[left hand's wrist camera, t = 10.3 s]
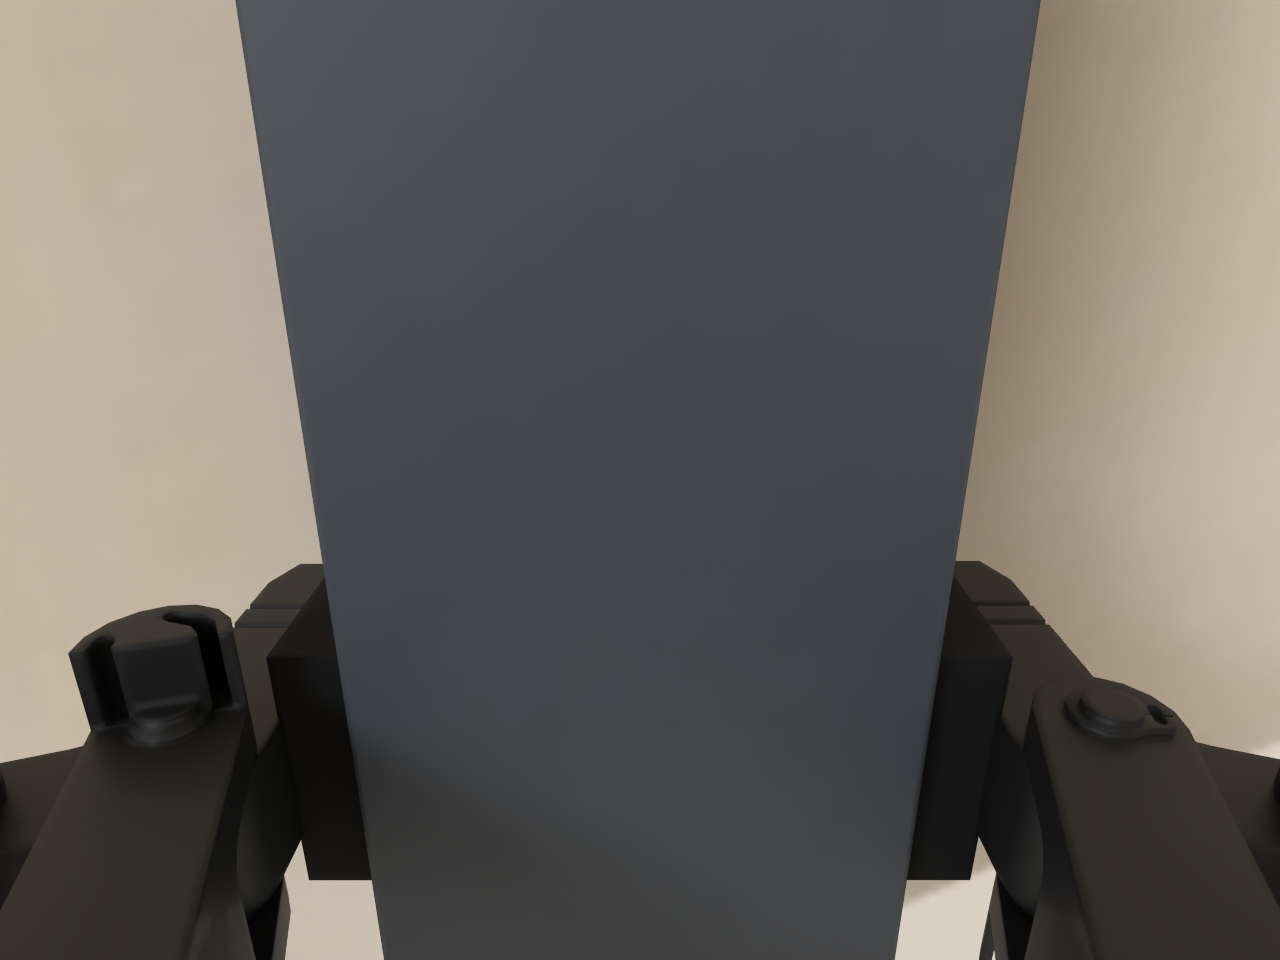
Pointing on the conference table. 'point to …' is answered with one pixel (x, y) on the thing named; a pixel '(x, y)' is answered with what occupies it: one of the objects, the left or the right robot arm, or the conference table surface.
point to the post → (638, 444)
